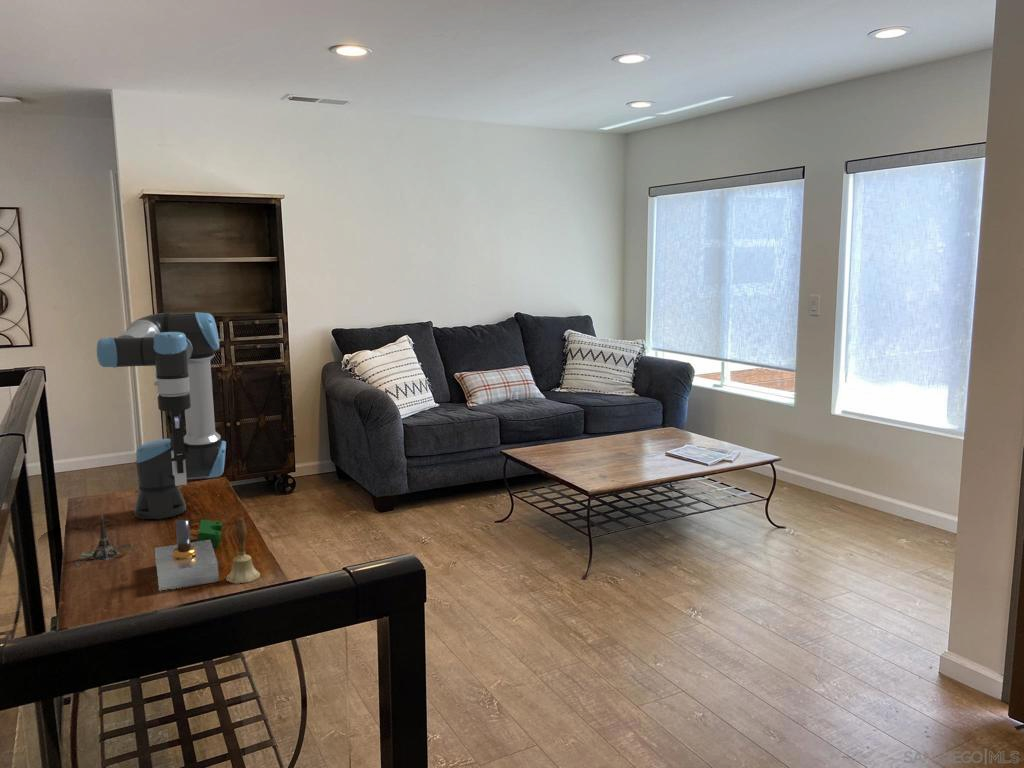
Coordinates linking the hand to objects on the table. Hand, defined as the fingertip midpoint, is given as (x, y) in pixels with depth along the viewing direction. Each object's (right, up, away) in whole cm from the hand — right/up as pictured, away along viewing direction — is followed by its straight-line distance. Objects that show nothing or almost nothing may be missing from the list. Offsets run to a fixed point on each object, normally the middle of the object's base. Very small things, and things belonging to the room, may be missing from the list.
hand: (179, 479), depth 200 cm
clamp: (-2, -22, +25) cm, 33 cm away
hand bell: (+16, -26, +2) cm, 30 cm away
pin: (0, -25, +4) cm, 25 cm away
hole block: (0, -25, +4) cm, 26 cm away
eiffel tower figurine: (-28, -24, +17) cm, 40 cm away
